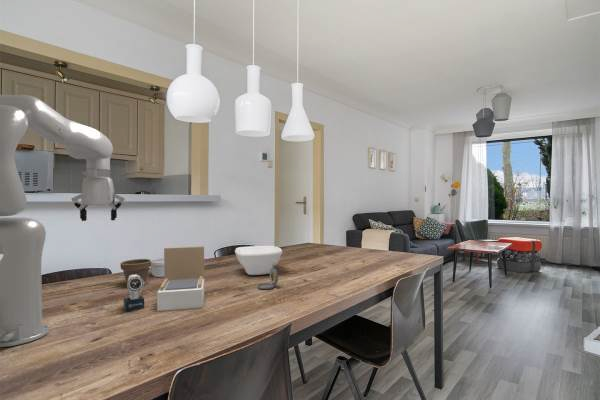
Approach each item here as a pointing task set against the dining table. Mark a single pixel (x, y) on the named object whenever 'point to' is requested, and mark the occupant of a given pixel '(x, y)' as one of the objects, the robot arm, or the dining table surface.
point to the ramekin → (157, 267)
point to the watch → (134, 293)
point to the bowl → (258, 258)
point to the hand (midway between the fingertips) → (98, 220)
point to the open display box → (182, 279)
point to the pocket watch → (272, 278)
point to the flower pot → (136, 268)
